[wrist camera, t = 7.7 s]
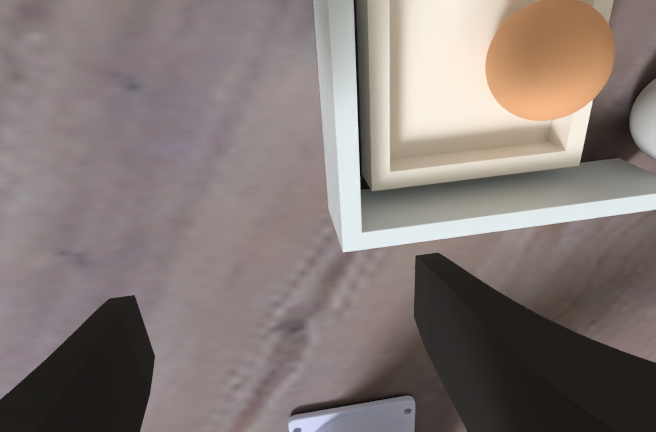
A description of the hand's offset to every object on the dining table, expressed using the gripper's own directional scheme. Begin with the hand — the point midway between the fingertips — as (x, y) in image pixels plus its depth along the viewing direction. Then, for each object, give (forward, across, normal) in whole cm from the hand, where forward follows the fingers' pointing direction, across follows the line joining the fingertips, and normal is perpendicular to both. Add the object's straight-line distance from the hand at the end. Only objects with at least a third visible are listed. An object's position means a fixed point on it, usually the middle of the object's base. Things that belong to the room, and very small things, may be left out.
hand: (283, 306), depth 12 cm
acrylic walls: (+10, -10, -3) cm, 14 cm away
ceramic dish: (+10, -9, -4) cm, 14 cm away
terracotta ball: (+8, -9, -4) cm, 13 cm away
